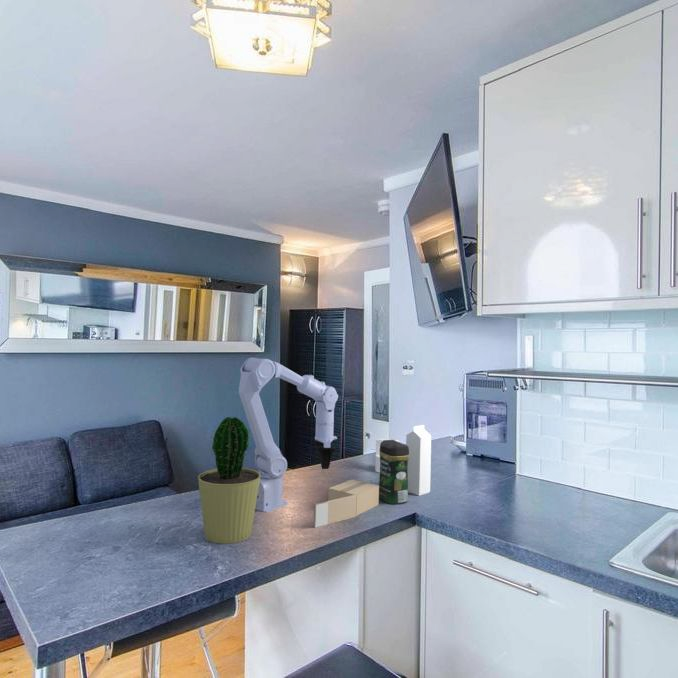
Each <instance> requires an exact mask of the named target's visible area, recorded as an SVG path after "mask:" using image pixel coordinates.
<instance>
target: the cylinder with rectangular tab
mask: <svg viewBox="0 0 678 678" xmlns="http://www.w3.org/2000/svg"><path fill="white" fill-rule="evenodd" d="M383 440H395V441H397V442H400V439H394V438H393V439H392V438H391V439H390V438H381V437H379V438H375V460H374V461H375V462H374V463H375V465H374V466H375V467H374V471H375V472H376V473H378V472H379V473H378V474H380V453H379V451H380V444H381V442H383Z"/></svg>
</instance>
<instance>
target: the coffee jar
mask: <svg viewBox="0 0 678 678" xmlns="http://www.w3.org/2000/svg"><path fill="white" fill-rule="evenodd" d="M395 440H396V439H393V440H383V442H381V444H380V451H379V453H380V473H379V480H378V486H379V500H380V499H381V500H382V501H383V502H385V503H387V504H389V505H403V504H405V503H407V502H408V501H409V492H408V459H409V447H408V446H407V445H406V443H402V442H400V441H399V442H397V441H395Z"/></svg>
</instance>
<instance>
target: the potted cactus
mask: <svg viewBox="0 0 678 678" xmlns="http://www.w3.org/2000/svg"><path fill="white" fill-rule="evenodd" d="M223 417H224V418H222V419H223V420H222V421H221V419H220V423H219V424H218V425H217V427H216V426H215V425H214V429H215V430H214V435H212V436H211V439H213V440H212V441H213V442H212V441H211V442H210V443H211V444H212V447H211V449H210V452H211V453H212V452H213V453H212V455H213V456H214V457H215V458H214V459H215V460H214V462H215V467H216V468H214V469H210V470H206V471H204V472H202V473H200V474H199V475H198V476H197V479H198V487H199V488H198V489H199V496H200V506H201V513H202V522H203V531H204V536H205V539H206V540H207V541H208V542H210V543H214V544H221V545H223V544H226V545H227V544H234V543H238V542H243V541H245V540H247V539H248V538H250V536H251V534H252V529H253V525H254V524H253V523H254V517H255V512H256V509H255V507H256V501H257V495H258V489H259V483H260V477H261V474H260V473H259V472H258V471H259V470H255V469H250V468H246V467H245V468H244V466H243V465H244V462H246V461H247V462H248V460H246V459H244V458H245V457H246V456H247V453H246V451H249V450H248V449H250V450H252V447H250V442H251V441H250V438H249V436H250V433H251V434H252V432H251V430H249V429H248V428H247V425H246V424H245V423H244V421H243V417H242V418H241V419H240V418H239V417H237V416H234V417H232V416H228V417H225V416H223ZM216 428H217V429H216Z"/></svg>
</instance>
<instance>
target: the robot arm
mask: <svg viewBox="0 0 678 678" xmlns="http://www.w3.org/2000/svg"><path fill="white" fill-rule="evenodd" d="M239 370H240V378H239V379H240V380H239V384H238V395H239V398H240V400H241V404H242V406H243V407H242V408H243V410H244V413H245V417H246V419H247V423H248V425H249V430H250V432H251V435H252V437H253V438H252V439H253V441H254V443H255V449H254V455H255V458H254V465H255V467H256V468H257V471H258V472H259V473H260V474H261V477H260V483H259V489H258V495H257V501H256V507H255V511H256V510H257V511H259V512H263V513H270V512H271V511H274V510H277V509H279V508H283V507H284V506H288V505H289V502H287V501H283V480H284V479H283V478H284V474H285V473H286V472H287V468H288V461H287V458H286V457H284V456H283V454H282V451H281V450H280V448H279V447H278V446H277V444H276V443H275V441H274V438H273V435H272V431H271V429H270V426H269V421H268V419H267V416H266V413H265V410H264V409H265V408H264V406H263V403H262V399H261V397H260V393H261V390H262V389H263V387H264V386H266V384H268V382H269V381H270V380H271V379H273V378H274V379H277V378H279V379H281V380H283V381H286V382H287V383H290V384H293V385H294V386H296V389H297V391H298V392H299V393H301V394H304V395H305V396H308V397H309V398H312V399H313V400H314V401H315V402H316V407H315V408H316V409H315V436H314V440H313V443H314V445H315V447H316V453H317V459H318V463H319V464H320V467H321V469H322V470H329V469H330V464H331V460H332V457H333V454H334V452H335V450H336V446H331V443H332V442H333V441H334V440H337V439H338V437H337V436H336V435H334V426H335V425H334V423H335V419H334V418H335V408H336V402H337V401H338V399H339V394H338V393H337V390H336V388H335V387H333V386H330V385H326V382H324V381H323V380H322V381H319V380H318V379H316V378H315V376H314V375H312V374H304V375H302V376H301V375H300V374H298V373H297V372H294V371H293V370H291V369H289V368H288V367H286V366H284V365H282V364H281V363H279V362H277V361H273V360H271V359H269V358H257V357H249V358H247V359H246V360H245V362H243V364H242V366H241V367H240V369H239Z"/></svg>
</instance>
